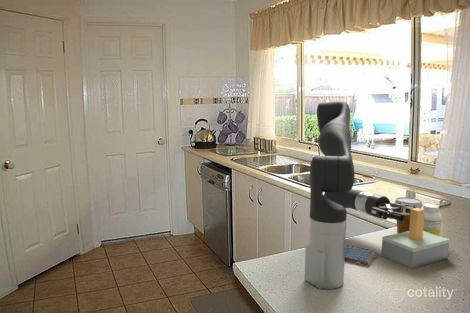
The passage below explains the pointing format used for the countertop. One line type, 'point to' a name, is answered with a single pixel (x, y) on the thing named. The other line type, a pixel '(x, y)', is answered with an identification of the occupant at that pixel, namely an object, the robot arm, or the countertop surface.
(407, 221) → the disposable coffee cup
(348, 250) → the woven mat
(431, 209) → the supplement bottle
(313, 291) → the countertop surface
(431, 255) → the parts tub
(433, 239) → the lid
